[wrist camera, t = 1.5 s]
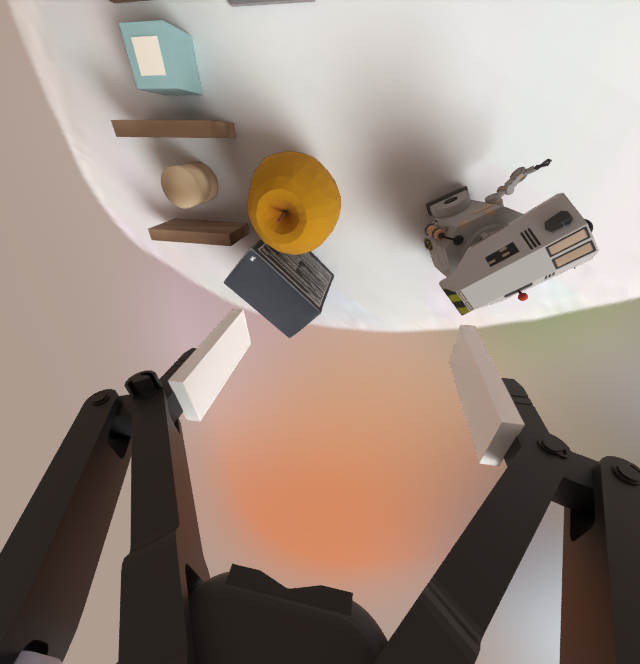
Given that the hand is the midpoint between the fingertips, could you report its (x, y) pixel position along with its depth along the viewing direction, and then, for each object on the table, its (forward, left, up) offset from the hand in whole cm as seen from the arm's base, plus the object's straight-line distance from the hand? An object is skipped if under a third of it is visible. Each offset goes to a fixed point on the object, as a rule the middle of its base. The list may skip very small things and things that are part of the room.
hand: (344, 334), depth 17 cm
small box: (+5, -10, -23) cm, 25 cm away
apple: (-4, -8, -23) cm, 24 cm away
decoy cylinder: (-5, -22, -23) cm, 32 cm away
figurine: (-2, +12, -23) cm, 26 cm away
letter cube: (-16, -22, -23) cm, 35 cm away
